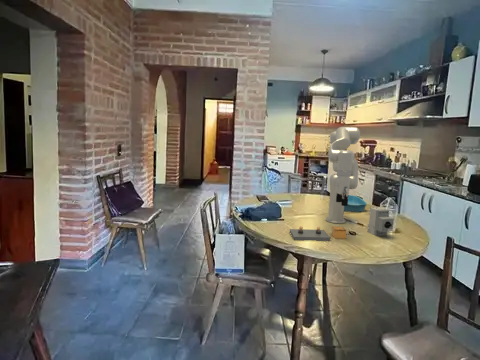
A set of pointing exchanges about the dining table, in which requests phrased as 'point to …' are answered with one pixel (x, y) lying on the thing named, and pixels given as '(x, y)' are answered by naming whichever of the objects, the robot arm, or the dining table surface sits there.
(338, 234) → the orange panelled cube
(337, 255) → the dining table surface
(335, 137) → the robot arm
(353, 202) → the casserole dish
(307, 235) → the plate
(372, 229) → the circuit breaker
